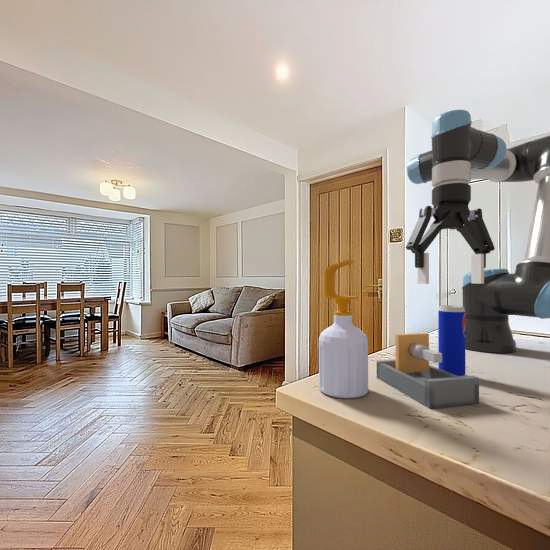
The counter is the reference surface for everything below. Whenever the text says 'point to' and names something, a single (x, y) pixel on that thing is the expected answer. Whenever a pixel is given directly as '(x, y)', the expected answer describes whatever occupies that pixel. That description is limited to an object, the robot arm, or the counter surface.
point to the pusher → (414, 353)
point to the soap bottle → (342, 348)
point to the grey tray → (431, 385)
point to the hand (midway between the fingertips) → (450, 283)
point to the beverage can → (452, 339)
